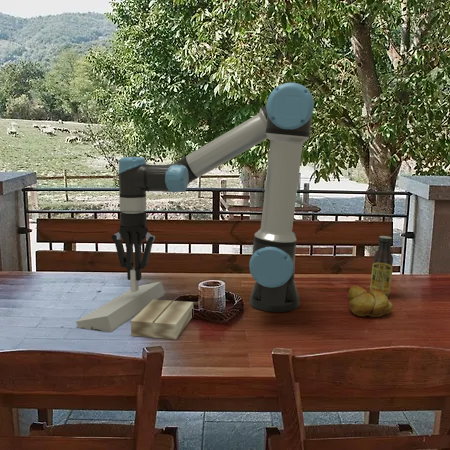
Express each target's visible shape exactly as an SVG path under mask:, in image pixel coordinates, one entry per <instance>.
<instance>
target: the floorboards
mask: <svg viewBox="0 0 450 450" xmlns="http://www.w3.org/2000/svg"><path fill="white" fill-rule="evenodd" d="M192 309H193V310H194V301H182V300H181V301H180V300H175V299H172V300H167V299H165V300H164V299H158V300H156V299H153V300H152V301H151V302H150V303H149V304H148V305H147V306H146V307H145V308H144V309H143V310H142V311H141V312H139V313H138V314H136V315H135V316H134V317H132V318H131V319H130V336H132V337H142V338H143V337H145V338H154V339H155V338H156V339H167V340H177V339H178V337H179V336H180V335H181V334H182V332H183V331H184V329H185V328H186V326H187V325H188V324H189V322H190V321H191V319H192V318H193V317H192Z"/></svg>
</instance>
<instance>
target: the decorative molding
mask: <svg viewBox="0 0 450 450" xmlns="http://www.w3.org/2000/svg"><path fill="white" fill-rule="evenodd" d="M164 296H165V289H164V286H163V282H162V281H156V282H151V283H147V284H146V283H145V284H141V285H139V290H138V291H136V292H131V288H130V289H128V290H126V291H125V292H124V293H122V294H120V295H119V296H117V297H115V298H113V299H112V300H109V301H108V302H107V303H105V304H103V305H102V306H100V307H98V308H97V309H95V310H93V311H91V312H90V313H87V314H86V315H85V316H82V317H81V318H80V319H77V320H76V321H75V324H76V325H77V327H78V328H79V329H84V330H99V331H101V332H106V333H107V332H108V333H112V332H114V331H115V330H116V329H118V328H120V327H121V326H122V325H124V324H125V323H127V322H128V321H129V320H132V319H133V318H134V317H135V316H136V315H138V314H139V313H140V312H141V311H142V310H143V309H144V308H145V307H146V306H147V305H148V304H149V303H150V302H151V301H152V300H153V299H156V300H160V298H162V297H164ZM119 326H120V327H119Z"/></svg>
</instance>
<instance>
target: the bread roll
mask: <svg viewBox="0 0 450 450" xmlns="http://www.w3.org/2000/svg"><path fill="white" fill-rule="evenodd" d="M347 297H348V300H349V309H350V311H351V312H352V314H353V315H355V316H358V317H366V316H369V317H373V318H374V317H375V318H376V317H382V316H385V315H388V314H390V313H391V312H392V311H393V309H394V306H393V303H392V302H390V301H389V299H388V298H389V297H388V298H387V296H386V295H385V294H384V293H382V292H380V291H376V290H371V291H370V290H366V289H364V288H363V287H361V286H359V285H357V284H353V285H351V286H350V287H349V290H348V292H347Z"/></svg>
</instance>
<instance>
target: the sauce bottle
mask: <svg viewBox="0 0 450 450" xmlns="http://www.w3.org/2000/svg"><path fill="white" fill-rule="evenodd" d="M392 242H393V237H392V236H388V235H380V236H378V248H377V251H376V252H375V254H374V255H373V261H372V267H371V268H372V269H371V276H370V285H369V291H371V290H376V291H380V292H382V293H384V294H385V295H386V296H387V298H389V297H390V293H391V285H392V276H393V269H394V268H393V265H394V257H393V254H392V252H391V250H392V249H391V247H392Z"/></svg>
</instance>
